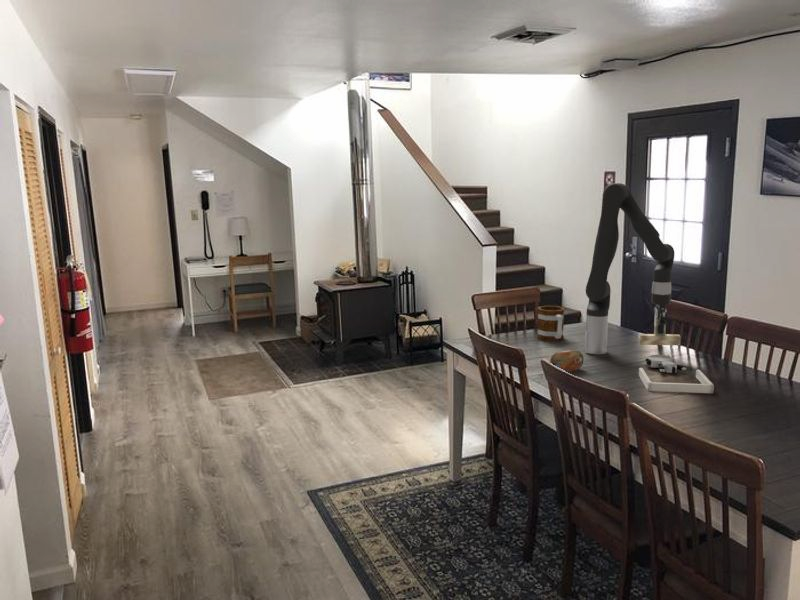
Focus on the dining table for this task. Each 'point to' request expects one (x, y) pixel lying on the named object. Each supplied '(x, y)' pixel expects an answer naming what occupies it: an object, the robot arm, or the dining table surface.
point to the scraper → (659, 337)
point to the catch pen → (678, 384)
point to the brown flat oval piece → (567, 360)
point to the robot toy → (663, 363)
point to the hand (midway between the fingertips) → (659, 332)
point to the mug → (550, 323)
